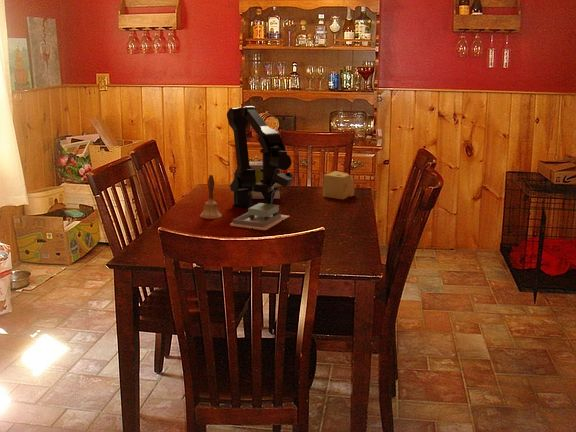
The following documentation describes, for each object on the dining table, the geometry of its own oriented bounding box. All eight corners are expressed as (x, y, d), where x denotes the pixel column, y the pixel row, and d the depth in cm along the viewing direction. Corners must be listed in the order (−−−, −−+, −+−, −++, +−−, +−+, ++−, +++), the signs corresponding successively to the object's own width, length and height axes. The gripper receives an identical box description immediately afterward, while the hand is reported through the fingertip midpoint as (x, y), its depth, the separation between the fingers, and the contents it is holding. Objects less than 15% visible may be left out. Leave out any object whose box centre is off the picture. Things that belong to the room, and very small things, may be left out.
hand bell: (225, 214, 268) (225, 174, 264) (216, 219, 260) (215, 177, 256) (205, 212, 270) (205, 172, 266) (196, 217, 262) (195, 176, 259)
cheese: (354, 195, 305) (355, 173, 303) (342, 200, 296) (343, 177, 294) (333, 192, 310) (334, 170, 308) (321, 197, 302) (322, 174, 299)
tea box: (279, 194, 305) (279, 161, 301) (279, 199, 295) (280, 165, 292) (244, 194, 304) (245, 160, 301) (244, 199, 295) (244, 164, 291)
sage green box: (248, 220, 257) (248, 208, 256) (259, 214, 266) (259, 202, 265) (267, 222, 254) (268, 210, 253) (278, 216, 263) (278, 205, 262)
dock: (230, 225, 252) (230, 219, 252) (256, 212, 272) (256, 206, 271) (265, 230, 247) (265, 223, 246) (289, 216, 267) (289, 210, 266)
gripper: (280, 171, 250) (279, 213, 254) (299, 163, 267) (298, 203, 271) (252, 169, 254) (252, 210, 258) (272, 161, 271) (272, 200, 275)
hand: (269, 206), depth 265 cm, fingers closed
